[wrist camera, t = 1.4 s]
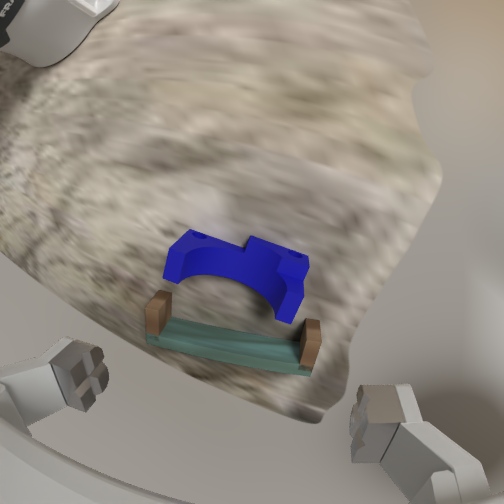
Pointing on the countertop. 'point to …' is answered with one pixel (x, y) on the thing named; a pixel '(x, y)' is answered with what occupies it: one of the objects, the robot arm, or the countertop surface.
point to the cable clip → (243, 268)
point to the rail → (231, 341)
